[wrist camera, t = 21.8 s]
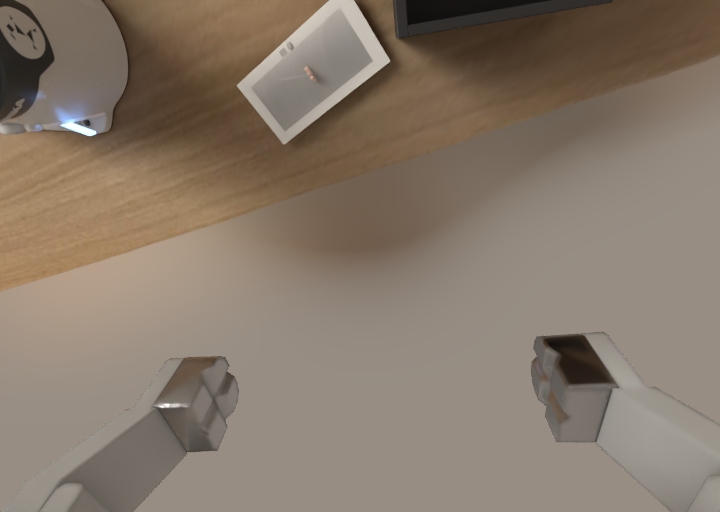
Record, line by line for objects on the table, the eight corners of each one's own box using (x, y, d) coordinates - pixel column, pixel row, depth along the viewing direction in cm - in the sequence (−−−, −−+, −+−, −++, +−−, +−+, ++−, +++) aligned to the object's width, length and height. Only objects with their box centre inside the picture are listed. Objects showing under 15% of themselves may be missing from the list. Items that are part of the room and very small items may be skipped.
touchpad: (390, 60, 39) (390, 61, 37) (286, 142, 44) (281, 147, 42) (346, -14, 36) (344, -17, 34) (239, 84, 41) (232, 86, 39)
